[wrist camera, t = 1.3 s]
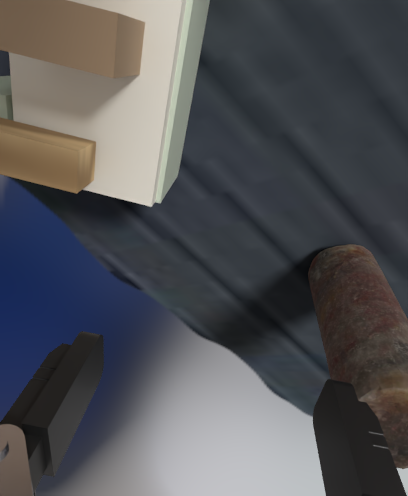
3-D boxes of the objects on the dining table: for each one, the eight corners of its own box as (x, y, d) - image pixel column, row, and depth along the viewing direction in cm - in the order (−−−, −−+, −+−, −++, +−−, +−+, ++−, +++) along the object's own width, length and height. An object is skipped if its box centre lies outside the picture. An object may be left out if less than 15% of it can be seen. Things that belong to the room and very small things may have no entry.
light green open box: (11, -166, 25) (-111, -279, 16) (230, -111, 25) (219, -195, 16) (26, 136, 36) (-43, 160, 27) (177, 175, 36) (155, 210, 27)
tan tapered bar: (-37, 107, 25) (-91, 117, 21) (96, 141, 25) (66, 157, 21) (-32, 148, 26) (-81, 164, 22) (94, 180, 26) (66, 201, 22)
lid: (8, -224, 18) (-104, -352, 12) (213, -172, 18) (196, -277, 12) (27, 167, 29) (-27, 194, 23) (155, 200, 29) (132, 234, 23)
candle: (304, 295, 41) (343, 468, 24) (302, 242, 38) (346, 399, 20) (372, 291, 40) (465, 471, 22) (376, 236, 36) (490, 398, 19)
